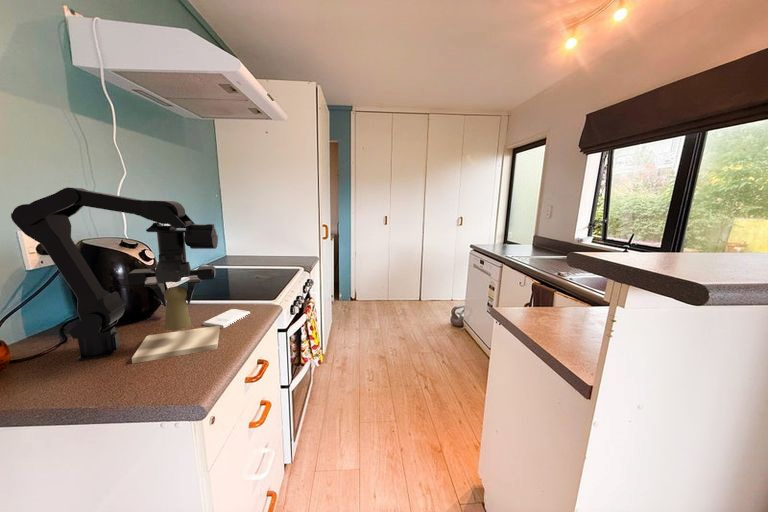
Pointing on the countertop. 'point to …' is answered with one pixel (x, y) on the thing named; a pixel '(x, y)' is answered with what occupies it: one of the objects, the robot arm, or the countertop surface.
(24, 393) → the countertop surface
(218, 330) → the birch board
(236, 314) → the external hard drive
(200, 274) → the robot arm
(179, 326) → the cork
